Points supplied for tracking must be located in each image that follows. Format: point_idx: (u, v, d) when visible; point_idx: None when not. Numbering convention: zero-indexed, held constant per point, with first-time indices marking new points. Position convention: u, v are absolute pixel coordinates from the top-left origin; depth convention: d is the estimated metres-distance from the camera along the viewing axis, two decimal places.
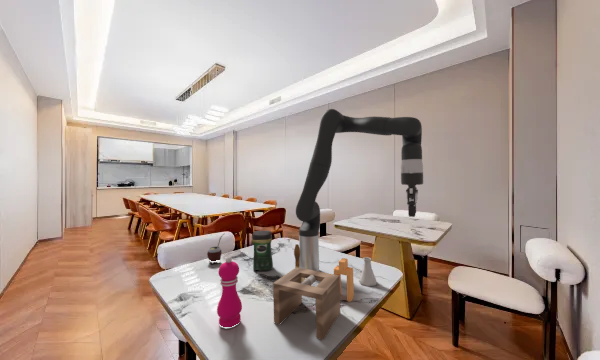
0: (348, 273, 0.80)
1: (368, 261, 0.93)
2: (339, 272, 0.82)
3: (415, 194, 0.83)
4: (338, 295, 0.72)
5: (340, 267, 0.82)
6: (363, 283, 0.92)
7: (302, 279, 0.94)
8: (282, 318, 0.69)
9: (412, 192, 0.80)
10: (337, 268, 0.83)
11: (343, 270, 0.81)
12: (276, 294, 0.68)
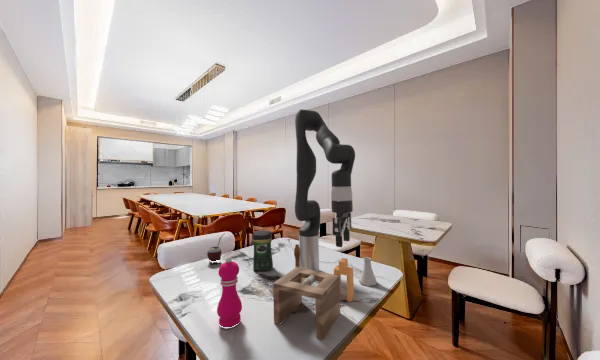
0: (348, 273, 0.80)
1: (368, 261, 0.93)
2: (339, 272, 0.82)
3: (343, 223, 0.80)
4: (338, 295, 0.72)
5: (340, 268, 0.82)
6: (363, 283, 0.92)
7: (302, 279, 0.94)
8: (282, 318, 0.69)
9: (337, 222, 0.77)
10: (337, 268, 0.83)
11: (343, 270, 0.81)
12: (276, 294, 0.68)
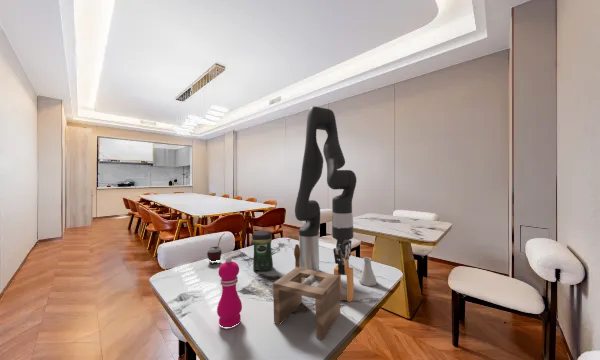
0: (348, 273, 0.80)
1: (368, 261, 0.93)
2: None
3: (344, 251, 0.80)
4: (338, 295, 0.72)
5: None
6: (363, 283, 0.92)
7: (302, 279, 0.94)
8: (282, 318, 0.69)
9: (338, 254, 0.77)
10: (337, 268, 0.83)
11: None
12: (276, 294, 0.68)
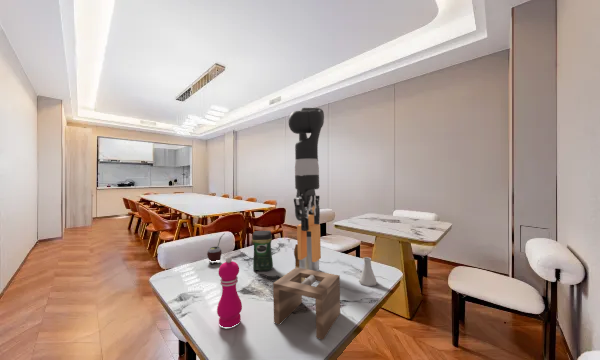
0: (313, 228, 0.68)
1: (368, 261, 0.93)
2: None
3: (307, 203, 0.69)
4: (338, 295, 0.72)
5: None
6: (363, 283, 0.92)
7: (302, 279, 0.94)
8: (282, 318, 0.69)
9: (299, 204, 0.66)
10: None
11: None
12: (276, 294, 0.68)
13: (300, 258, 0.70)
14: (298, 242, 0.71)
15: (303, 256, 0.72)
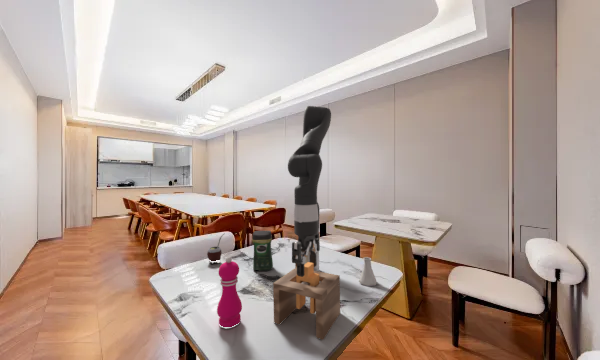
0: (312, 280, 0.68)
1: (368, 261, 0.93)
2: (302, 279, 0.70)
3: (306, 248, 0.68)
4: (338, 295, 0.72)
5: None
6: (363, 283, 0.92)
7: None
8: (282, 318, 0.69)
9: (296, 248, 0.65)
10: None
11: (307, 277, 0.69)
12: (276, 294, 0.68)
13: (298, 307, 0.71)
14: None
15: (301, 305, 0.72)
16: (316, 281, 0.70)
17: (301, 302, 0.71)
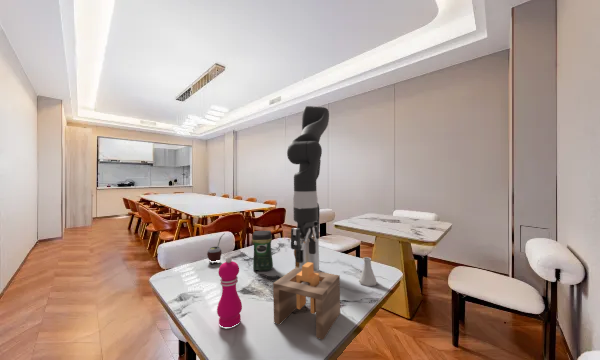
0: (312, 280, 0.68)
1: (368, 261, 0.93)
2: (302, 279, 0.70)
3: (305, 234, 0.68)
4: (338, 295, 0.72)
5: (303, 273, 0.70)
6: (363, 283, 0.92)
7: None
8: (282, 318, 0.69)
9: (295, 234, 0.65)
10: (300, 274, 0.71)
11: (307, 277, 0.69)
12: (276, 294, 0.68)
13: (299, 308, 0.70)
14: None
15: (302, 305, 0.72)
16: (316, 281, 0.70)
17: (301, 302, 0.71)
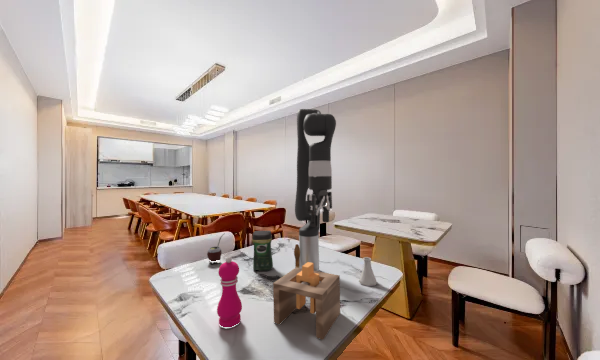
0: (312, 280, 0.68)
1: (368, 261, 0.93)
2: (302, 279, 0.70)
3: (320, 201, 0.72)
4: (338, 295, 0.72)
5: (303, 273, 0.70)
6: (363, 283, 0.92)
7: None
8: (282, 318, 0.69)
9: (311, 199, 0.69)
10: (300, 274, 0.71)
11: (307, 277, 0.69)
12: (276, 294, 0.68)
13: (298, 307, 0.70)
14: None
15: (302, 305, 0.72)
16: (316, 281, 0.70)
17: (301, 302, 0.71)
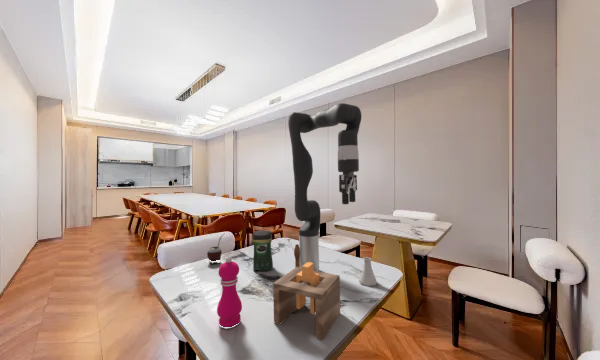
0: (312, 280, 0.68)
1: (368, 261, 0.93)
2: (302, 279, 0.70)
3: (349, 181, 0.81)
4: (338, 295, 0.72)
5: (303, 273, 0.70)
6: (363, 283, 0.92)
7: None
8: (282, 318, 0.69)
9: (343, 178, 0.78)
10: (300, 274, 0.71)
11: (307, 277, 0.69)
12: (276, 294, 0.68)
13: (299, 307, 0.70)
14: None
15: (302, 305, 0.72)
16: (316, 281, 0.70)
17: (301, 302, 0.71)
